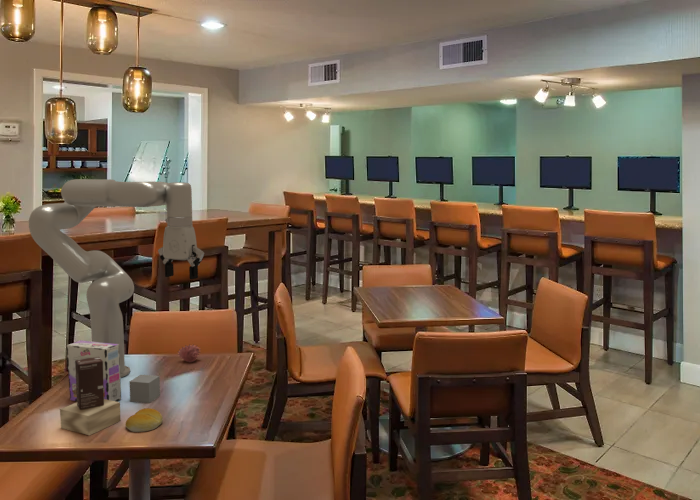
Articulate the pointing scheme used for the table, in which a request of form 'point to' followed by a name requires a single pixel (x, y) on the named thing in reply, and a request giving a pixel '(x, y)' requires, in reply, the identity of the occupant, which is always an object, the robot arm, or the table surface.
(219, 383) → the table surface
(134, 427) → the bread roll
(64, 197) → the robot arm
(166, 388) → the table surface
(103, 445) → the table surface
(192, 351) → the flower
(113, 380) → the candy box
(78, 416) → the base block
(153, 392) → the grey cube
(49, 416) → the table surface
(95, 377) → the box
